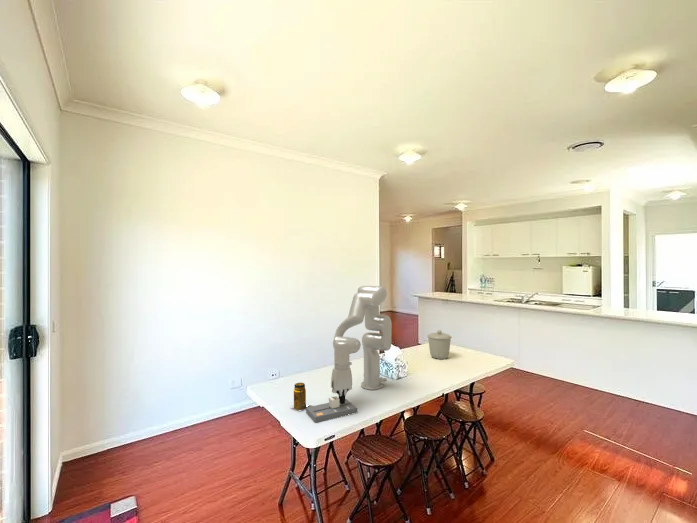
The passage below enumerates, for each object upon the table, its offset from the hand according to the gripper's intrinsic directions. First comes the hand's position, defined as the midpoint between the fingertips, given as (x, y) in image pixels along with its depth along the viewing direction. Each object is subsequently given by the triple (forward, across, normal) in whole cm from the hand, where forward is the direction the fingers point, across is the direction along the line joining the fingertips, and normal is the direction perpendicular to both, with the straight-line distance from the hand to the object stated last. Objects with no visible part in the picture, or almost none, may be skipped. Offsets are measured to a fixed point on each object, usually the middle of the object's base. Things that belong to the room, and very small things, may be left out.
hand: (342, 402), depth 167 cm
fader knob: (+1, +4, 0) cm, 4 cm away
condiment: (+4, +16, -13) cm, 22 cm away
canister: (+4, -109, -47) cm, 119 cm away
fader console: (+4, +6, 0) cm, 7 cm away
